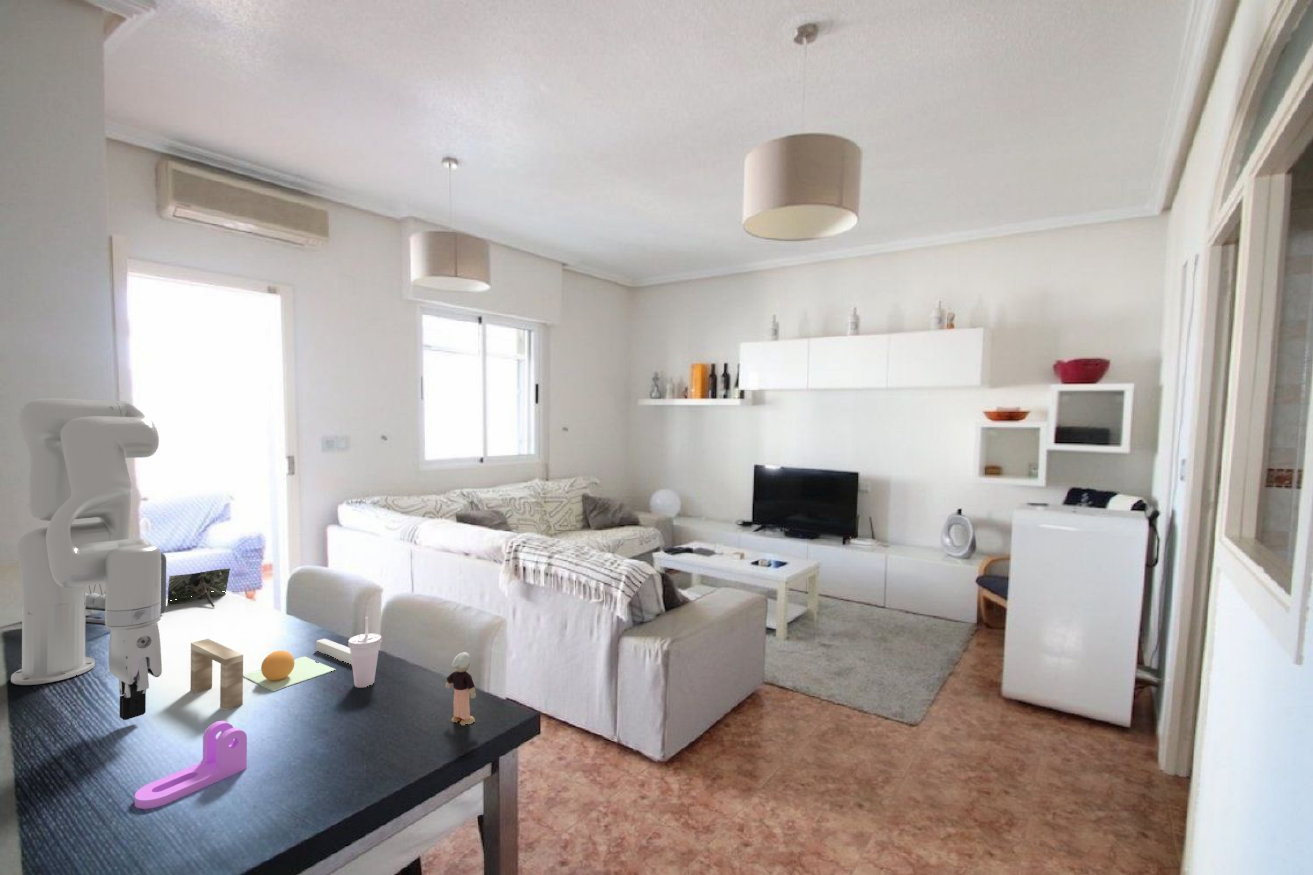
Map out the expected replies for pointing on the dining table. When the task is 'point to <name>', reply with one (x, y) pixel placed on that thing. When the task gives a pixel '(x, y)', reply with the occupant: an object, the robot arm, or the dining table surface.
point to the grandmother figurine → (461, 689)
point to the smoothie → (364, 656)
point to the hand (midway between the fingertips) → (132, 715)
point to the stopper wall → (334, 650)
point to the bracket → (200, 767)
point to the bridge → (229, 673)
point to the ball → (277, 665)
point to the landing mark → (292, 674)
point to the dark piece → (197, 586)
